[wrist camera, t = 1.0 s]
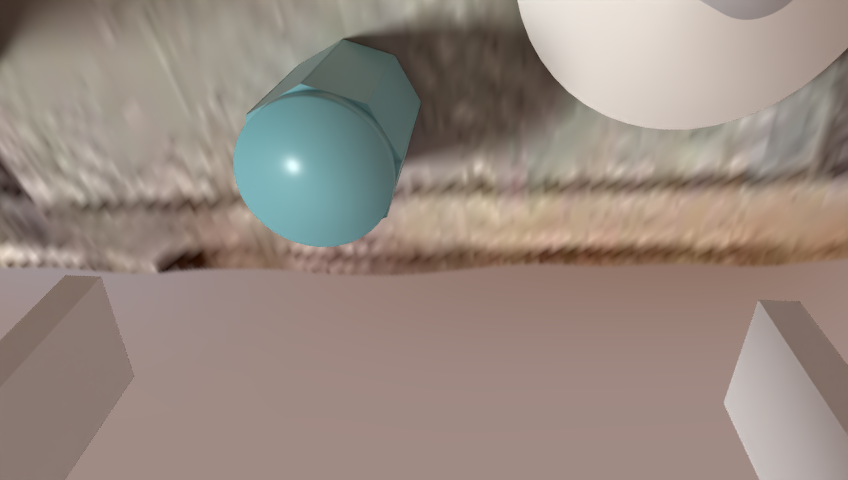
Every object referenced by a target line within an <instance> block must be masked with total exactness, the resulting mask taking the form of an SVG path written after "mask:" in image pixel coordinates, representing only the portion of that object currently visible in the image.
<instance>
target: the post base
mask: <svg viewBox="0 0 848 480" xmlns="http://www.w3.org/2000/svg"><path fill="white" fill-rule="evenodd" d="M517 1H518V5H519V9H520V14H521V18H522V21H523V23H524V26H525V29H526V31H527V34H528V36H529V39H530V41H531V43H532V45H533V47H534V48H535V50H536V52H537V54H538V56H539V58H540V59H541V61H542V62H543V63H544V65H545V66H546V67H547V69H548V70H549V71H550V73H551V74H552V75H553V77H554V78H555V79H556V80H557V81H558V82H559V83H560V84H561V85H562V86H563V87H564V88H565V89H566V90H567V91H568V92H569V93H571V94H572V95H573V96H575V97H576V98H577V99H579V100H580V101H581V102H582V103H584V104H585V105H587V106H589V107H590V108H592V109H594V110H596V111H598V112H600V113H601V114H603V115H606V116H608V117H611V118H613V119H616V120H619V121H621V122H624V123H628V124H632V125H637V126H641V127H646V128H655V129H665V130H673V129H694V128H701V127H709V126H714V125H718V124H722V123H726V122H730V121H734V120H737V119H739V118H742V117H745V116H748V115H750V114H753V113H756V112H758V111H760V110H762V109H764V108H766V107H768V106H770V105H772V104H774V103H776V102H778V101H781V100H782V99H784V98H785V97H787V96H789V95H790V94H792V93H793V92H795V91H797V90H798V89H800V88H801V87H803V86H804V85H806V84H807V83H808V82H809V81H811V80H812V79H813V78H815V77H816V76H817V75H818V74H820V73H821V72H822V71H824V70H825V69H826V68H827V67H828V66H829V65H830V64H831V63H832V62H833V61H834V60H836V59H837V58H838V57H839V56H840V55H841V54H842V53H843V52H844V51H845V50H846V49H847V48H848V0H517Z"/></svg>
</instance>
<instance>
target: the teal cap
mask: <svg viewBox="0 0 848 480" xmlns="http://www.w3.org/2000/svg"><path fill="white" fill-rule="evenodd" d="M420 105H421V101H420V99H419V97H418V95H417V94H416V92H415V90H414V88H413V87H412V85H411V83H410V81H409V80H408V78H407V76H406V74H405V72H404V71H403V69H402V67H401V65H400V64H399V62H398V60H397V58H396V57H395V55H392V54H389V53H386V52H383V51H379V50H376V49H373V48H370V47H367V46H363V45H360V44H357V43H354V42H350V41H347V40H344V39H342V40H341V41H339V42H337V43H335V44H334V45H332V46H330V47H329V48H327V49H325V50H324V51H322V52H320V53H318V54H317V55H315V56H313V57H312V58H310V59H308V60H306V61H305V62H303V63H301V64H299V65H298V66H297V67H296V68H295V69H294V70H293V71H292V72H290V73H289V74H288V75H287V76H286V77H285V78H284V79H283V80H282V81H281V82H280V83H279V84H278V85H277V86H276V87H275V88H274V89H273V90H271V91H270V92H269V93H268V94H267V95H266V96H265V97H264V98H263V99H262V100H261V101H260V102H259V103H258V104H257V105H256V106H255V107H254V108H252V109H251V110H250V111H249V112H248V113H247V115H246V122H245V126H244V128H243V130H242V131H241V133H240V135H239V137H238V140H237V143H236V146H235V151H234V161H233V165H234V175H235V179H236V183H237V186H238V189H239V191H240V194H241V196H242V198H243V200H244V201H245V203H246V204H247V206H248V207H249V209H250V210H251V211H252V213H253V214H254V215H255V216H256V217H257V218H258V219H259V220H260V221H261V222H262V223H263V224H264V225H265V226H267V227H268V228H269V229H271V230H272V231H274V232H275V233H277V234H279V235H280V236H282V237H284V238H287V239H289V240H291V241H294V242H297V243H300V244H304V245H309V246H317V247H331V246H339V245H343V244H347V243H350V242H352V241H355V240H357V239H359V238H361V237H363V236H364V235H366V234H367V233H368V232H370V231H371V230H372V229H373V228H374V227H375V226H376V225H377V224H378V223H379V222H380V220H381V219H382V218H385V217H387V215H388V211H389V208H390V205H391V202H392V199H393V196H394V192H395V189H396V186H397V183H398V180H399V176H400V173H401V170H402V167H403V164H404V160H405V157H406V154H407V151H408V146H409V143H410V139H411V136H412V132H413V129H414V125H415V122H416V118H417V115H418V112H419V108H420Z"/></svg>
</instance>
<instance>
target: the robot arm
mask: <svg viewBox="0 0 848 480" xmlns="http://www.w3.org/2000/svg"><path fill="white" fill-rule="evenodd" d="M133 377H134V373H133V371H132V367H131V364H130V362H129V358H128V355H127V352H126V349H125V346H124V343H123V341H122V338H121V335H120V332H119V329H118V326H117V323H116V320H115V317H114V314H113V311H112V308H111V305H110V302H109V299H108V296H107V293H106V290H105V287H104V284H103V281H102V278H101V277H94V276H64V278H62V280H60V281H59V283H57V285H56V286H54V287H53V288H52V289H51V290H50V291H49V292H48V293H47V294H46V296H44V297H43V298H42V299H41V300H40V301H39V302H38V303H37V304H36V305H35V306H34V307H33V308H32V309H31V310H30V311H29V312H28V313H27V314H26V315H25V316H24V317H23V318H22V319H21V321H19V322H18V323H17V324H16V325H15V326H14V327H13V328H12V329H11V330H10V331H9V332H8V333H7V334H6V335H5V336H4V337H3V338H2V339H1V340H0V480H65V479H66V478H67V476H68V475H69V473H70V472H71V470H72V469H73V467H74V466H75V464H76V463H77V461H78V460H79V458H80V456H81V455H82V454H83V452H84V451H85V449H86V448H87V446H88V445H89V443H90V442H91V440H92V439H93V437H94V436H95V434H96V433H97V431H98V430H99V428H100V427H101V425H102V424H103V422H104V421H105V419H106V418H107V416H108V415H109V413H110V412H111V410H112V409H113V407H114V406H115V404H116V403H117V401H118V400H119V398H120V397H121V395H122V394H123V392H124V391H125V389H126V388H127V386H128V385H129V384H130V382H131V380H132V379H133ZM724 405H725V407H726V409H727V411H728V414H729V416H730V418H731V420H732V422H733V424H734V426H735V428H736V431H737V433H738V435H739V437H740V439H741V441H742V443H743V446H744V448H745V450H746V452H747V454H748V456H749V458H750V461H751V463H752V465H753V467H754V469H755V472H756V473H757V476H758V478H759V480H848V365H847V364H846V362H845V361H844V360H843V358H842V357H841V356H840V354H839V353H838V352H837V350H836V349H835V348H834V347H833V345H832V344H831V342H830V341H829V340H828V338H827V337H826V336H825V334H824V333H823V332H822V330H821V329H820V328H819V326H818V325H817V324H816V323H815V321H814V320H813V318H812V317H811V316H810V314H809V313H808V312H807V310H806V309H805V308H804V307H803V305H802V304H801V302H799V301H771V300H758V303H757V306H756V309H755V312H754V315H753V318H752V321H751V324H750V327H749V330H748V333H747V336H746V338H745V341H744V345H743V348H742V350H741V353H740V356H739V359H738V362H737V365H736V368H735V371H734V374H733V377H732V380H731V383H730V386H729V389H728V392H727V395H726V398H725V401H724Z"/></svg>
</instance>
